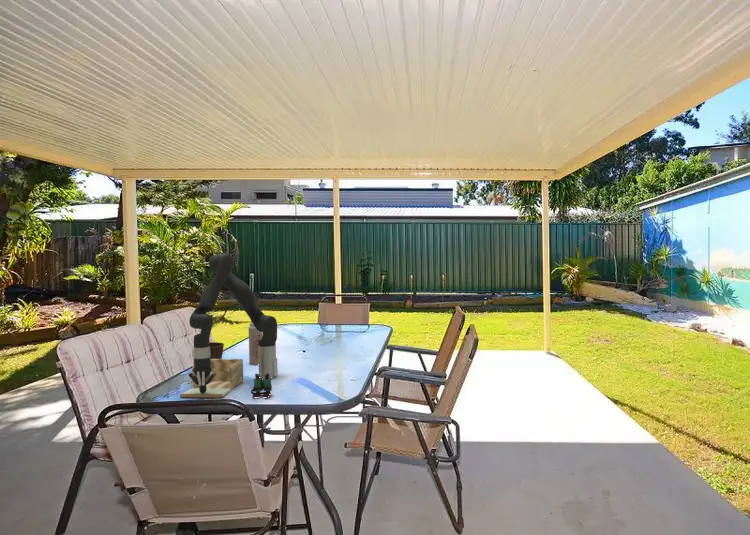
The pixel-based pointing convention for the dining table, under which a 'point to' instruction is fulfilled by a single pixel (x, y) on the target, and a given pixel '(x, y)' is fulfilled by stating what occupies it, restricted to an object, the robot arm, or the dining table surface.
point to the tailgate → (209, 393)
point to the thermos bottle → (253, 344)
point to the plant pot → (216, 350)
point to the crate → (225, 374)
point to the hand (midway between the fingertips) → (203, 392)
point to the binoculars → (262, 386)
